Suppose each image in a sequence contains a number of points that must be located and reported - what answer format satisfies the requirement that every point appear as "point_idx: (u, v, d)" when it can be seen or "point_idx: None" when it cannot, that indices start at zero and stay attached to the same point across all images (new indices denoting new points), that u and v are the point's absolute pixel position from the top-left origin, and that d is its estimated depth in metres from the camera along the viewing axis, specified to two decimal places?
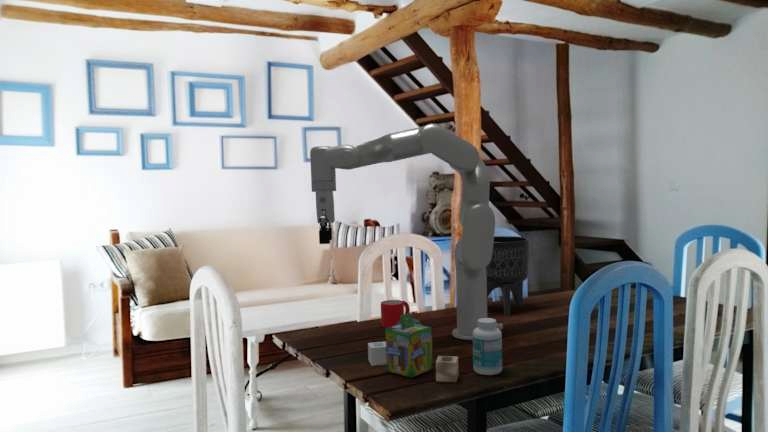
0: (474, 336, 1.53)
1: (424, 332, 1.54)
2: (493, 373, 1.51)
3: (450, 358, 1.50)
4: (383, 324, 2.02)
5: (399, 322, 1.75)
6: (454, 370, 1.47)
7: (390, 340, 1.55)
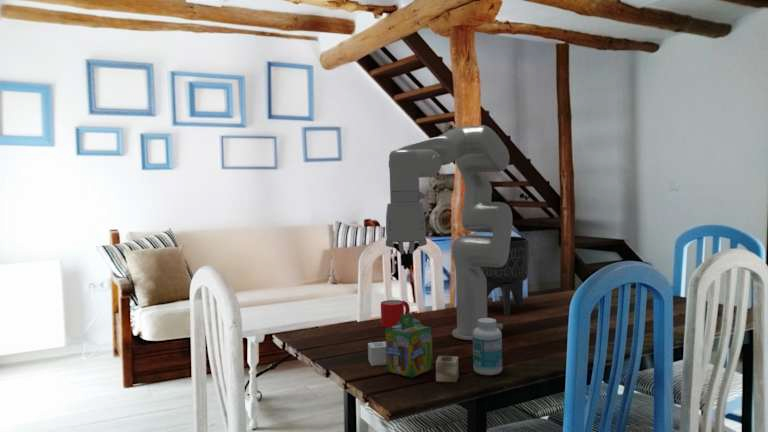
0: (474, 336, 1.53)
1: (424, 332, 1.54)
2: (493, 373, 1.51)
3: (450, 358, 1.50)
4: (383, 324, 2.02)
5: (399, 322, 1.75)
6: (454, 370, 1.47)
7: (390, 340, 1.55)
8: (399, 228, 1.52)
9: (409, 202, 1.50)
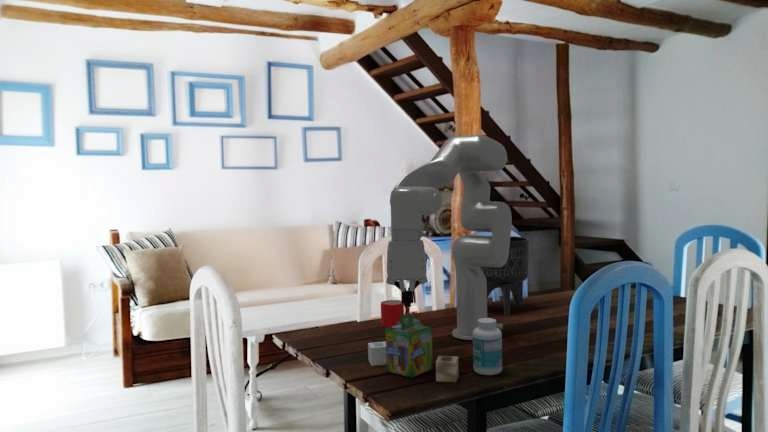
0: (474, 336, 1.53)
1: (424, 332, 1.54)
2: (493, 373, 1.51)
3: (450, 358, 1.50)
4: (383, 324, 2.02)
5: (399, 322, 1.75)
6: (454, 370, 1.47)
7: (390, 340, 1.55)
8: (400, 266, 1.53)
9: (410, 241, 1.51)
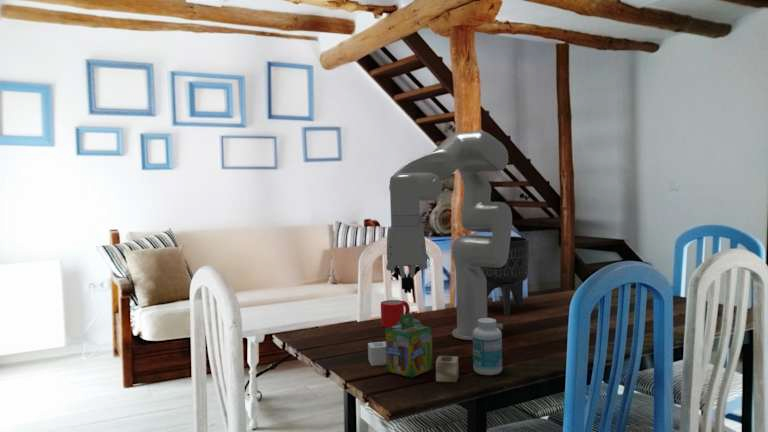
0: (474, 336, 1.53)
1: (424, 332, 1.54)
2: (493, 373, 1.51)
3: (450, 358, 1.50)
4: (383, 324, 2.02)
5: (399, 322, 1.75)
6: (454, 370, 1.47)
7: (390, 340, 1.55)
8: (400, 252, 1.52)
9: (410, 227, 1.51)
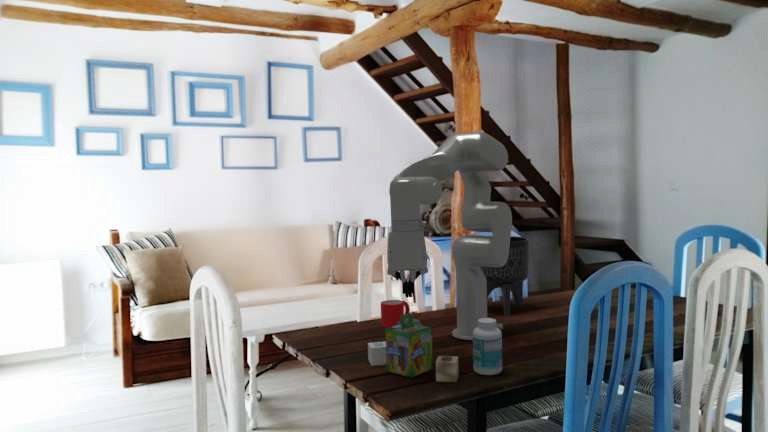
0: (474, 336, 1.53)
1: (424, 332, 1.54)
2: (493, 373, 1.51)
3: (450, 358, 1.50)
4: (383, 324, 2.02)
5: (399, 322, 1.75)
6: (454, 370, 1.47)
7: (390, 340, 1.55)
8: (400, 257, 1.53)
9: (410, 231, 1.51)
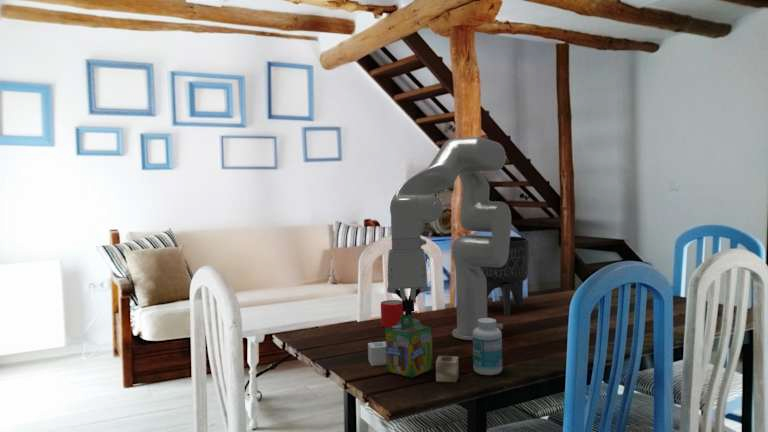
0: (474, 336, 1.53)
1: (424, 332, 1.54)
2: (493, 373, 1.51)
3: (450, 358, 1.50)
4: (383, 324, 2.02)
5: (399, 322, 1.75)
6: (454, 370, 1.47)
7: (390, 340, 1.55)
8: (401, 275, 1.53)
9: (410, 250, 1.51)
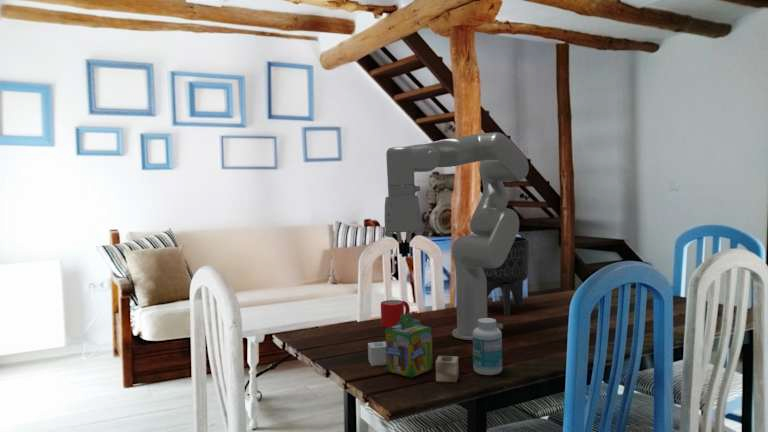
0: (474, 336, 1.53)
1: (424, 332, 1.54)
2: (493, 373, 1.51)
3: (450, 358, 1.50)
4: (383, 324, 2.02)
5: (399, 322, 1.75)
6: (454, 370, 1.47)
7: (390, 340, 1.55)
8: (397, 219, 1.65)
9: (406, 195, 1.63)
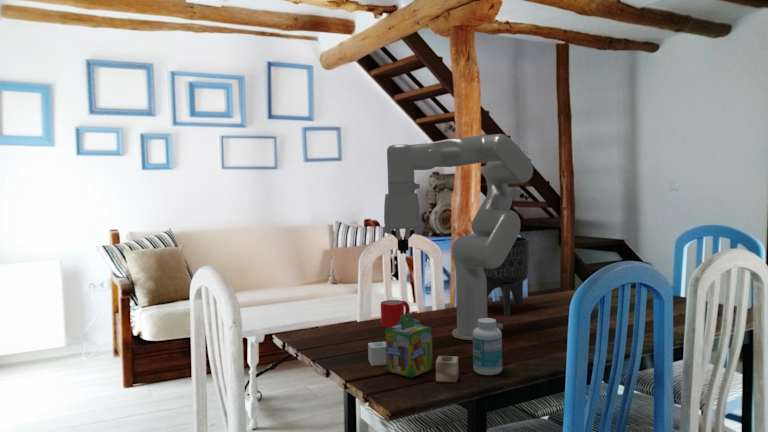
0: (474, 336, 1.53)
1: (424, 332, 1.54)
2: (493, 373, 1.51)
3: (450, 358, 1.50)
4: (383, 324, 2.02)
5: (399, 322, 1.75)
6: (454, 370, 1.47)
7: (390, 340, 1.55)
8: (396, 216, 1.67)
9: (405, 192, 1.65)
